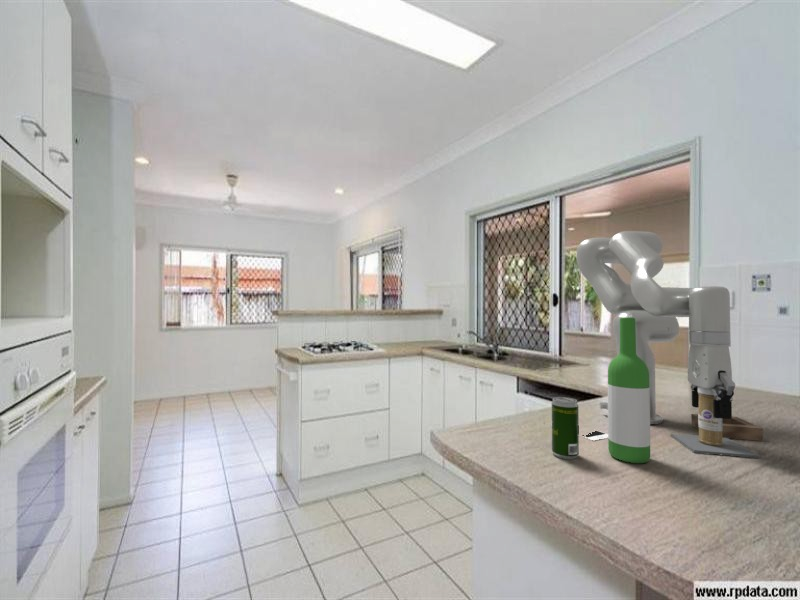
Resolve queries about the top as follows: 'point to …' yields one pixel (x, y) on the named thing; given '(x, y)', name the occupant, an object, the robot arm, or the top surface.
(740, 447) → the charcoal mat
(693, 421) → the walnut caddy
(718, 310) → the robot arm
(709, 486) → the top surface
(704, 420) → the sprinkles bottle
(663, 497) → the top surface
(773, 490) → the top surface
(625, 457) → the wine bottle
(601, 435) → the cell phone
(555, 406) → the beer can
